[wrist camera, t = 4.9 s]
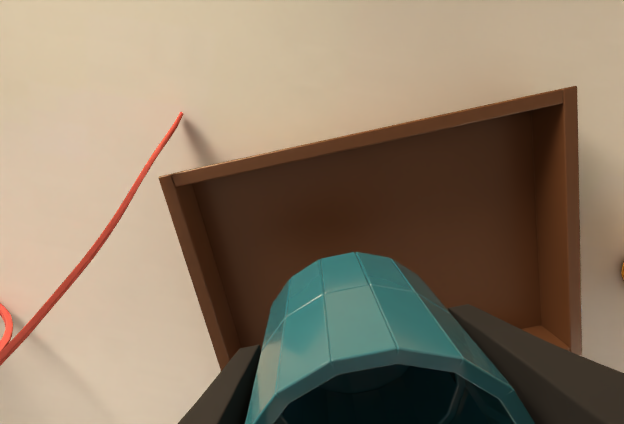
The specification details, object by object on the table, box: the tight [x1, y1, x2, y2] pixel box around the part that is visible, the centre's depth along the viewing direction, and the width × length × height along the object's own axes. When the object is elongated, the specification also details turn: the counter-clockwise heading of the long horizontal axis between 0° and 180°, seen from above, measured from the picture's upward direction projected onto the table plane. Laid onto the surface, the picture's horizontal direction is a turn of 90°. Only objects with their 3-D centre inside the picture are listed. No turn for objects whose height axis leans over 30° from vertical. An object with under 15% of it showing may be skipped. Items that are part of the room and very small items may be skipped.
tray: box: [159, 86, 582, 371], centre depth 16 cm, size 18×13×2 cm
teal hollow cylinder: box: [245, 252, 536, 424], centre depth 8 cm, size 6×6×5 cm
